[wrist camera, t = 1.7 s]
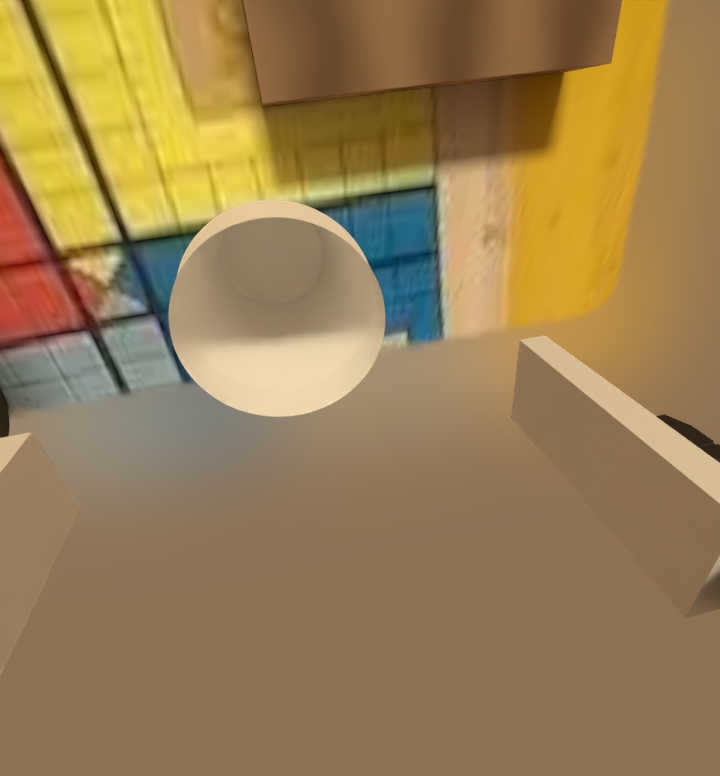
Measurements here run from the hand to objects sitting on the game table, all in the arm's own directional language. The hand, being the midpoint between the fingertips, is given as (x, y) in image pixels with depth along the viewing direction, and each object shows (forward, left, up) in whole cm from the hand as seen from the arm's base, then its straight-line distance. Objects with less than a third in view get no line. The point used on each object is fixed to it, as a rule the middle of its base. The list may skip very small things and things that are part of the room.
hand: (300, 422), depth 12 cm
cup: (0, 0, -19) cm, 19 cm away
